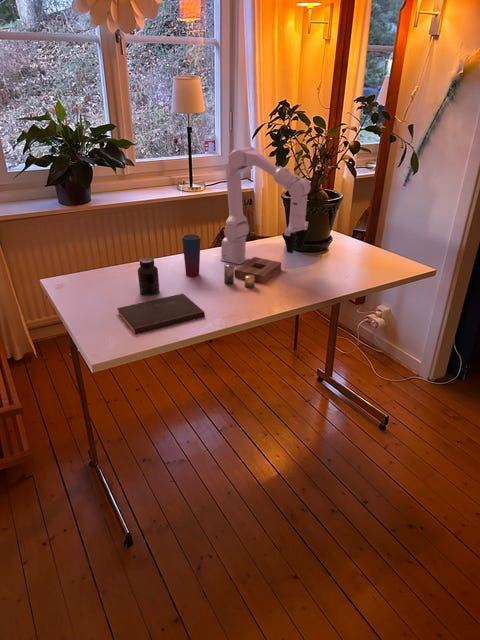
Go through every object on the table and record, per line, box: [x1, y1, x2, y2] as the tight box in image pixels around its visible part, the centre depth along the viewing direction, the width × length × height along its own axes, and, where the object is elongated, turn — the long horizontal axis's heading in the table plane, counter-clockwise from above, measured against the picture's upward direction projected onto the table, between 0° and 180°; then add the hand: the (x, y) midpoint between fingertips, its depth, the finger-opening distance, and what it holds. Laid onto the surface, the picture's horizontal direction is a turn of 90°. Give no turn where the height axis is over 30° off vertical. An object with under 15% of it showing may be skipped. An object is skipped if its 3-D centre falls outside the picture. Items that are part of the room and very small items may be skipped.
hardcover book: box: [117, 293, 206, 335], centre depth 149 cm, size 16×23×2 cm
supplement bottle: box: [137, 257, 160, 296], centre depth 161 cm, size 7×7×12 cm
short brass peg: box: [244, 275, 255, 290], centre depth 169 cm, size 3×3×4 cm
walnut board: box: [234, 256, 282, 284], centre depth 180 cm, size 12×16×3 cm
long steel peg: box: [223, 263, 235, 286], centre depth 170 cm, size 3×3×7 cm
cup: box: [181, 233, 201, 278], centre depth 175 cm, size 7×7×15 cm
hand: (294, 249), depth 176 cm, fingers open, 7 cm apart
